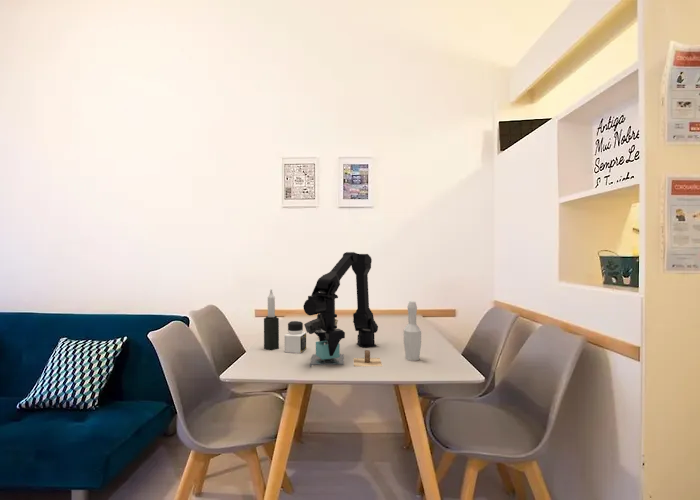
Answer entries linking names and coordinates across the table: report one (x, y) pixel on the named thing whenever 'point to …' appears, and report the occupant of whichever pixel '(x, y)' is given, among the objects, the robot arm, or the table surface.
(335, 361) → the silver peg base
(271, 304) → the black and white bottle
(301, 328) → the medicine bottle
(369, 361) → the stand
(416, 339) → the grey bottle
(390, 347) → the table surface
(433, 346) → the table surface
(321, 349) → the collar
